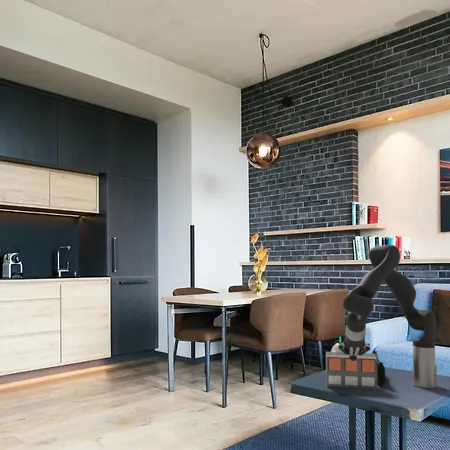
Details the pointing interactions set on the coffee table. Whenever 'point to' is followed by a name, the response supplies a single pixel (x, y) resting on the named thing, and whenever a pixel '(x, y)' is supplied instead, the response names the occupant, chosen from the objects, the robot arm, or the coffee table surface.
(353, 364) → the switch
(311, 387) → the coffee table surface
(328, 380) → the dark grey block
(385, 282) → the robot arm
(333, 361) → the switch
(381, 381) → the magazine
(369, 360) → the switch
